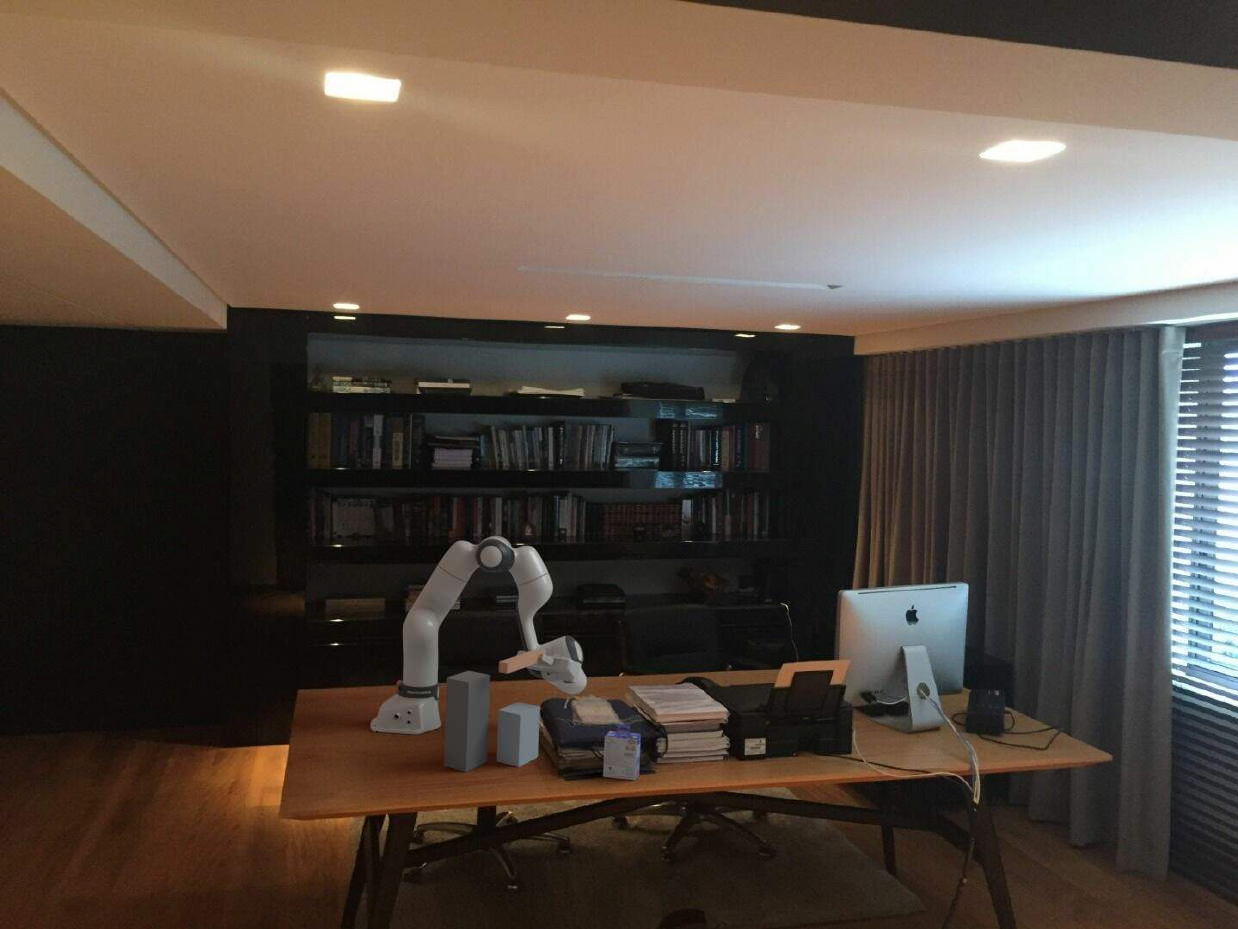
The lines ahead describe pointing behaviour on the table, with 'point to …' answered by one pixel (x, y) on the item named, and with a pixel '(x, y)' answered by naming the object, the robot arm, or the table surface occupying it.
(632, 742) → the ink cartridge box
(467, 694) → the tall stand
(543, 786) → the table surface
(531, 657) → the bar
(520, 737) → the low block
